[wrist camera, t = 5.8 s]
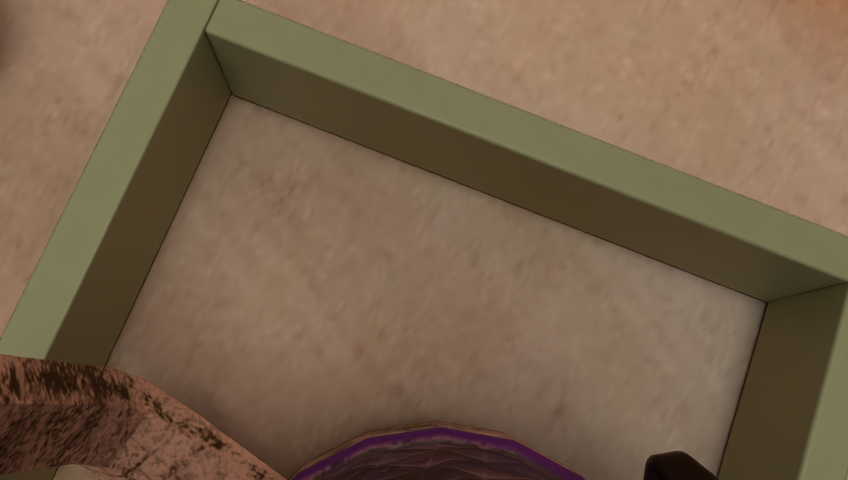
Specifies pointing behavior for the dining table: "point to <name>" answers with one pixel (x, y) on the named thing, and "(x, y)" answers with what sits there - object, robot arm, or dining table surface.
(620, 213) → the frame
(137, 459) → the mug
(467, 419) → the dining table surface
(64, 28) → the dining table surface
